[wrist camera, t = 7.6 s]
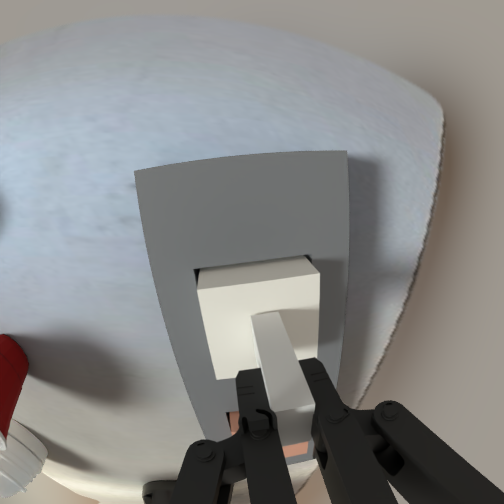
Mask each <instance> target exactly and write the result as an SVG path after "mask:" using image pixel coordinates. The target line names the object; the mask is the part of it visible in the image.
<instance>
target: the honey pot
mask: <svg viewBox="0 0 504 504" xmlns="http://www.w3.org/2000/svg"><path fill="white" fill-rule="evenodd" d="M6 443H7V450H3V451H2V450H0V497H2V498H7V497H11V496H13V495H15V494H17V493H18V492H19V491H21V492H26V491H27V490H26V488H25V486H27V485H28V484H29V483H30V482H32V481H33V478H35V477H36V475H37V474H39V473H40V472H41V471H42V467H43V465H44V462H45V459H46V457H47V454H48V451H47V449H46V447H45V446H44V445H43V443H42V442H41V441H40V440H39V439H38V438H37V437H36V436H34V435H33V434H32V433H31V432H30V431H29V430H27V429H26V428H25V427H23V426H22V425H21V424H19V423H18V422H16V421H15V420H13V419H12V418H11V421H10V427H9V430H8V435H7V440H6Z"/></svg>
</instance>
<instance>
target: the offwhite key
mask: <svg viewBox="0 0 504 504" xmlns="http://www.w3.org/2000/svg"><path fill="white" fill-rule="evenodd" d="M197 293H198V298H199V303H200V308H201V313H202V318H203V323H204V327H205V332H206V337H207V341H208V346H209V350H210V354H211V359H212V363H213V367H214V371H215V375H216V379H217V380H220V379H229V378H236V376H237V374H238V372H239V371H240V370H248V369H255V368H258V367H257V362H256V357H255V351H254V343H253V334H252V325H251V315H258V314H265V313H272V312H279V314H280V317H281V319H282V322H283V324H284V327H285V329H286V332H287V334H288V337H289V339H290V342H291V344H292V347H293V349H294V352H295V354H296V357H297V359H298V360H303V359H308V358H313V357H315V358H317V350H318V330H319V299H320V273H319V272H318V270H317V269H316V268H315V267H314V266H313V265H312V264H311V263H310V262H309V260H308V259H307V258H306V257H305V256H304V255H299V256H291V257H283V258H276V259H268V260H260V261H253V262H245V263H237V264H229V265H221V266H213V267H205V268H200V271H199V278H198V285H197Z"/></svg>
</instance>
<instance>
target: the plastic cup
mask: <svg viewBox="0 0 504 504" xmlns="http://www.w3.org/2000/svg"><path fill="white" fill-rule="evenodd" d="M28 367H29V363H28V360H27V357H26V355H25V354H24V352H23V350H22V349H21V348H20V346H19V345H18V344H17V343H16V342H15V341H14V340H13V339H11V338H10V337H9V336H6V335H4V334H1V335H0V450H2V451H3V450H7V443H6V440H7V435H8V430H9V427H10V421H11V418H12V415H13V412H14V409H15V406H16V403H17V401H18V398H19V395H20V393H21V390H22V385H23V383H24V380H25V378H26V375H27V372H28Z"/></svg>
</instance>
